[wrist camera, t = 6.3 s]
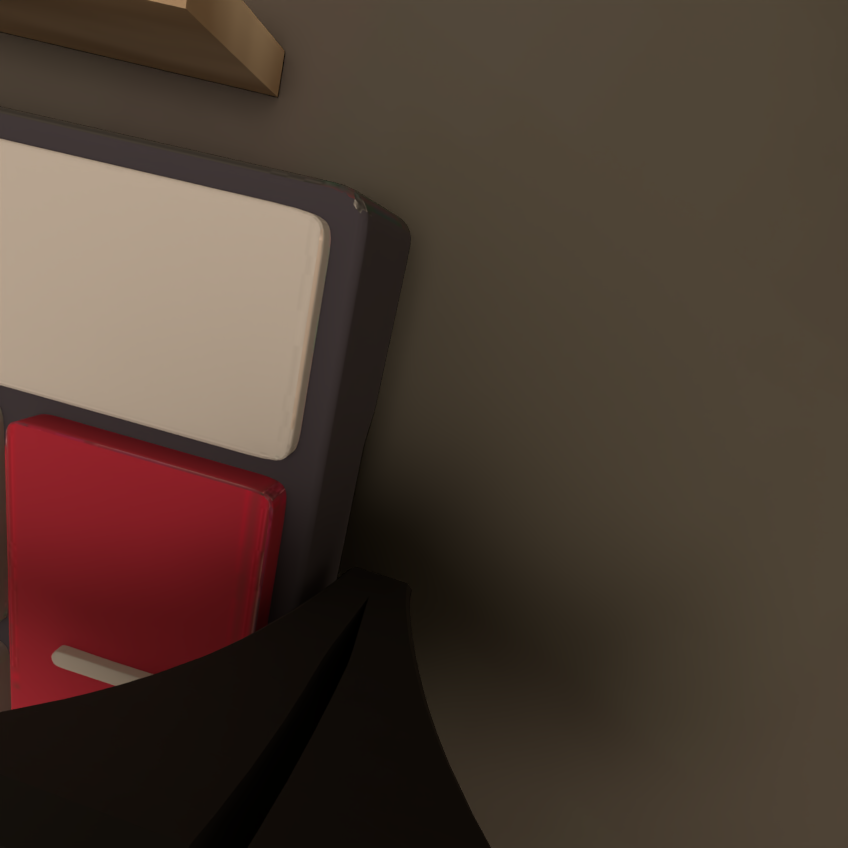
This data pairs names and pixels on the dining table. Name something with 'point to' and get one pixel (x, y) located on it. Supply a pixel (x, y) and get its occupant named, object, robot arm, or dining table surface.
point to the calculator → (173, 397)
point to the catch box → (159, 36)
